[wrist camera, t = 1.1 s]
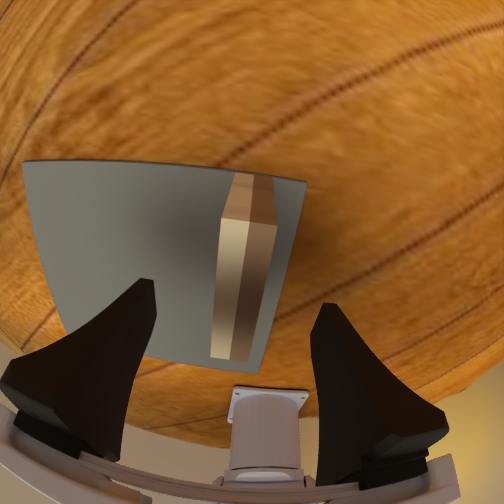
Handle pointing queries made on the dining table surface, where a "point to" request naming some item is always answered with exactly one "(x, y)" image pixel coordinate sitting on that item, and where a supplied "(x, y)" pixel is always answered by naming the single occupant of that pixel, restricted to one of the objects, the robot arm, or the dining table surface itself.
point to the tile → (242, 264)
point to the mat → (149, 246)
